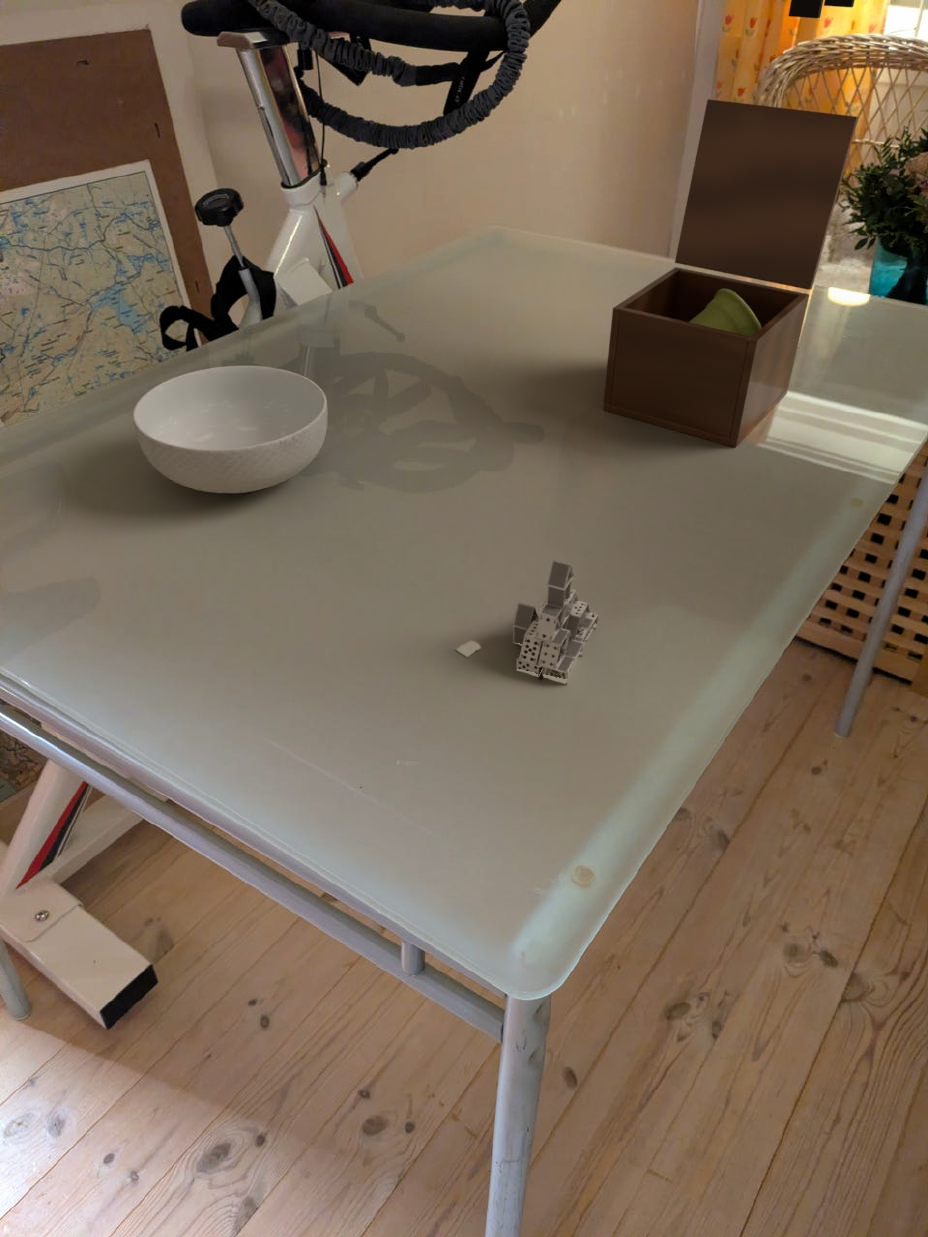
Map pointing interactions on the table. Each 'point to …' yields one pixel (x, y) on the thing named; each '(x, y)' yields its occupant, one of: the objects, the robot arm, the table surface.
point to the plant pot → (728, 314)
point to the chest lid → (764, 191)
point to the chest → (701, 356)
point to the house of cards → (553, 627)
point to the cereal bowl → (232, 427)
